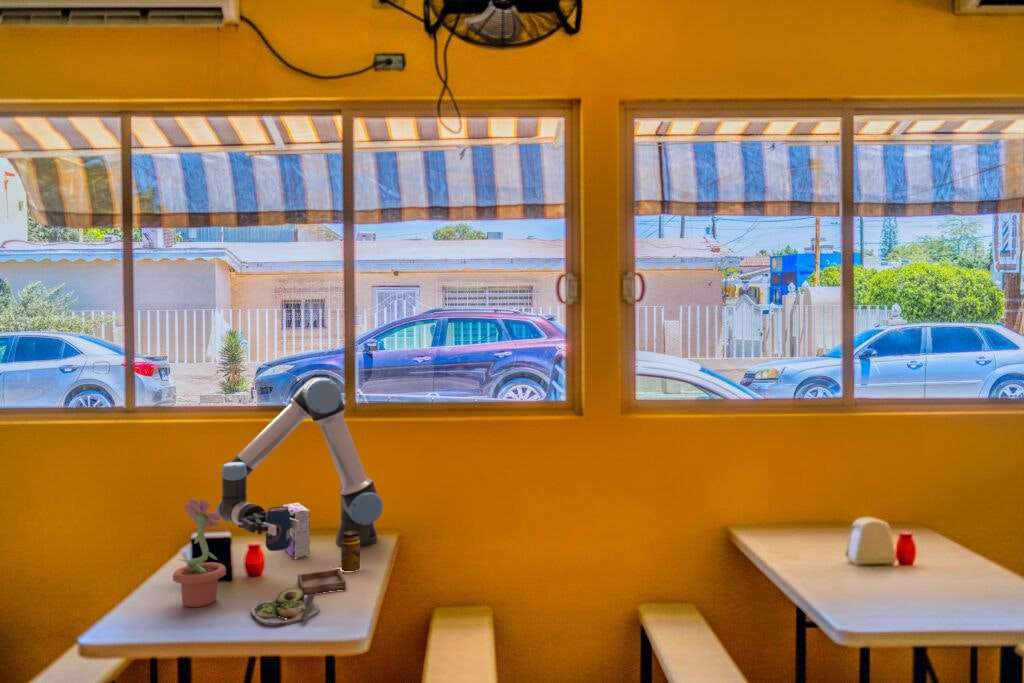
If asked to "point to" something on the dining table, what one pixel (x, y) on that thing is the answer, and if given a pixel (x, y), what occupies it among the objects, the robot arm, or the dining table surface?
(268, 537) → the soda can
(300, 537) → the candy box
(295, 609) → the avocado toast plate
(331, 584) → the walnut tray
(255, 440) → the robot arm
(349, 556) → the condiment
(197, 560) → the decorative flower
